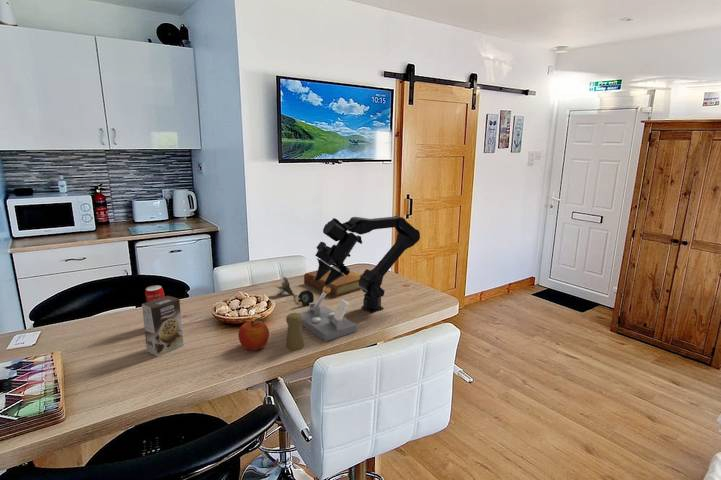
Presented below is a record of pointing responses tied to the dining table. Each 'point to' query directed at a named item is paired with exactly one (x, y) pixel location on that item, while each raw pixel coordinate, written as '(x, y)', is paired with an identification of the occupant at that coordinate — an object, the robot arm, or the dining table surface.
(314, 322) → the switch panel
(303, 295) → the artificial flower
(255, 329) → the fruit
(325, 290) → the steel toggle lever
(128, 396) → the dining table surface
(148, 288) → the beverage can
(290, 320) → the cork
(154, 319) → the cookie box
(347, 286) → the diary
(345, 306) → the cream paddle switch
